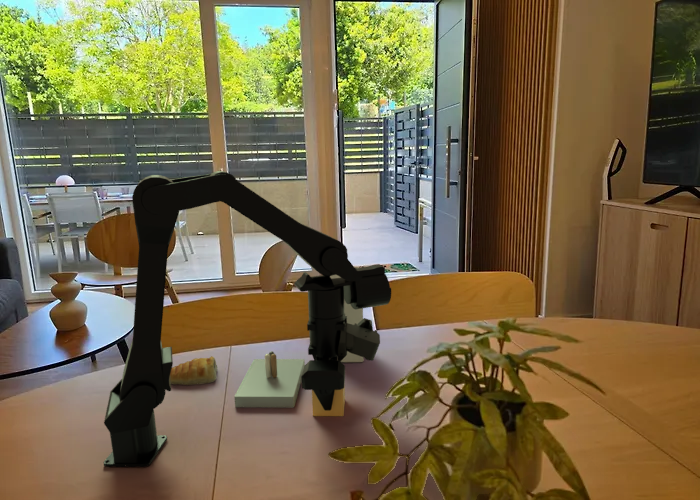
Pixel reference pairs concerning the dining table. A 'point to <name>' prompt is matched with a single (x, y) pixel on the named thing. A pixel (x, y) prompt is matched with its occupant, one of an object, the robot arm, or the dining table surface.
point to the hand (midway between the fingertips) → (329, 401)
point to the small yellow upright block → (336, 405)
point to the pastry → (194, 372)
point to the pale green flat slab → (270, 383)
